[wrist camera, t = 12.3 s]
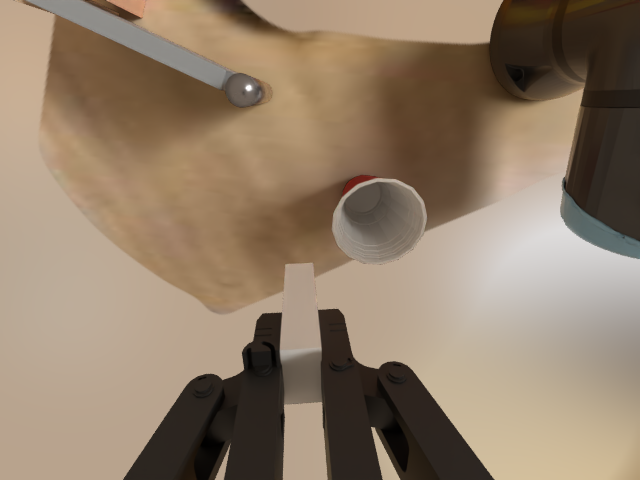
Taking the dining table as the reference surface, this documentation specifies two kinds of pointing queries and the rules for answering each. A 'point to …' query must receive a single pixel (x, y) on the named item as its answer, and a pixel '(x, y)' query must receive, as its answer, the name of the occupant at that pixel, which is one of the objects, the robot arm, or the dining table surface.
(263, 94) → the gate post
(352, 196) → the plastic cup
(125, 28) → the panel
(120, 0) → the post
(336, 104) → the dining table surface
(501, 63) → the robot arm
